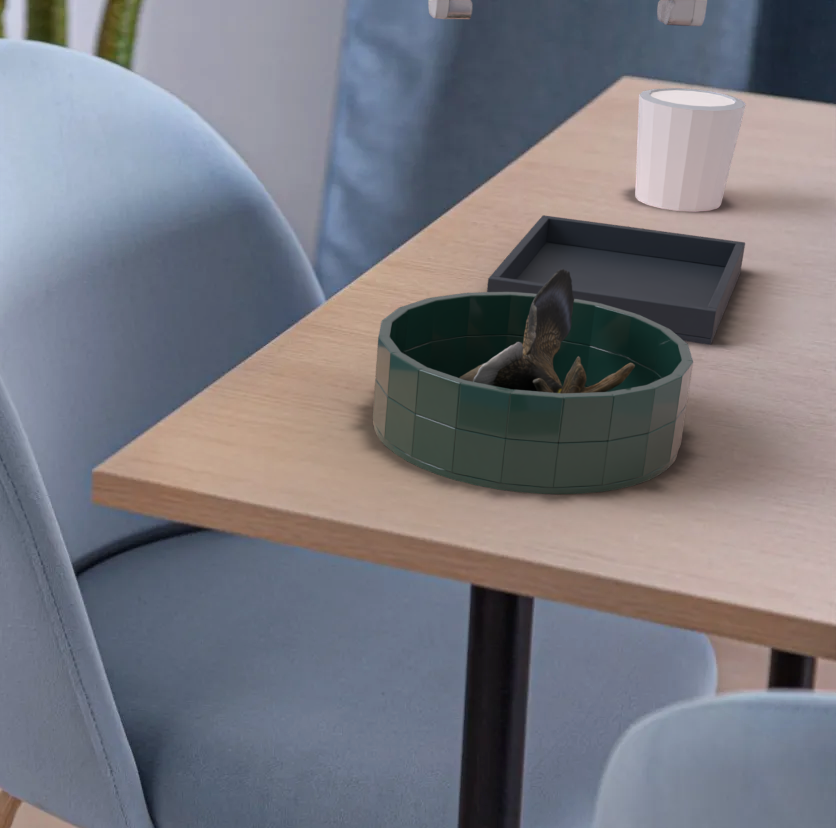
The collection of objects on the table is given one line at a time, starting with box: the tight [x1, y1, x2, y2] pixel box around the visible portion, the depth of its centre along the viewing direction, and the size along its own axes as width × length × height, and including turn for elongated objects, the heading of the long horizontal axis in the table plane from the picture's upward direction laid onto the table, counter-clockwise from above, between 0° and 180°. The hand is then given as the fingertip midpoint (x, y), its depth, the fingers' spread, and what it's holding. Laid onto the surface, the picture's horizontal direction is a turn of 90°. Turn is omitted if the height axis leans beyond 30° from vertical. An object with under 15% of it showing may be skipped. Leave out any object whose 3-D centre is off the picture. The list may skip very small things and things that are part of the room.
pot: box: [372, 291, 694, 495], centre depth 78 cm, size 14×14×4 cm
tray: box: [486, 214, 746, 346], centre depth 98 cm, size 14×12×2 cm
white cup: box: [634, 87, 747, 213], centre depth 116 cm, size 7×7×7 cm
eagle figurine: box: [460, 269, 635, 394], centre depth 78 cm, size 8×7×9 cm
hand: (565, 20), depth 70 cm, fingers open, 8 cm apart
